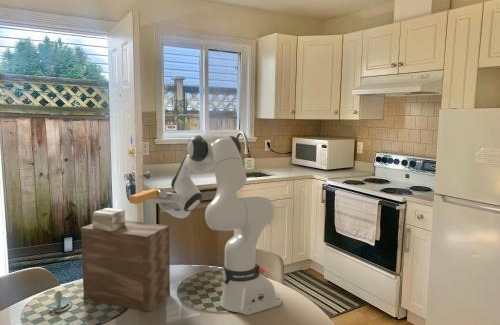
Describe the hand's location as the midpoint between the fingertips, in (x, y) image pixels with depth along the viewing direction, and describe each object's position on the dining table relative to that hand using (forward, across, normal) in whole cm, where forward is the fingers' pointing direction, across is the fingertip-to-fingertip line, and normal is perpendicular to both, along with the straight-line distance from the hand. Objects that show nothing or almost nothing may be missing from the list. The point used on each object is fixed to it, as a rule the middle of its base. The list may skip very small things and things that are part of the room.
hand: (153, 192), depth 165 cm
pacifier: (+18, -11, +51) cm, 55 cm away
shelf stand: (+5, +5, +42) cm, 43 cm away
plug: (+4, 0, +4) cm, 6 cm away
